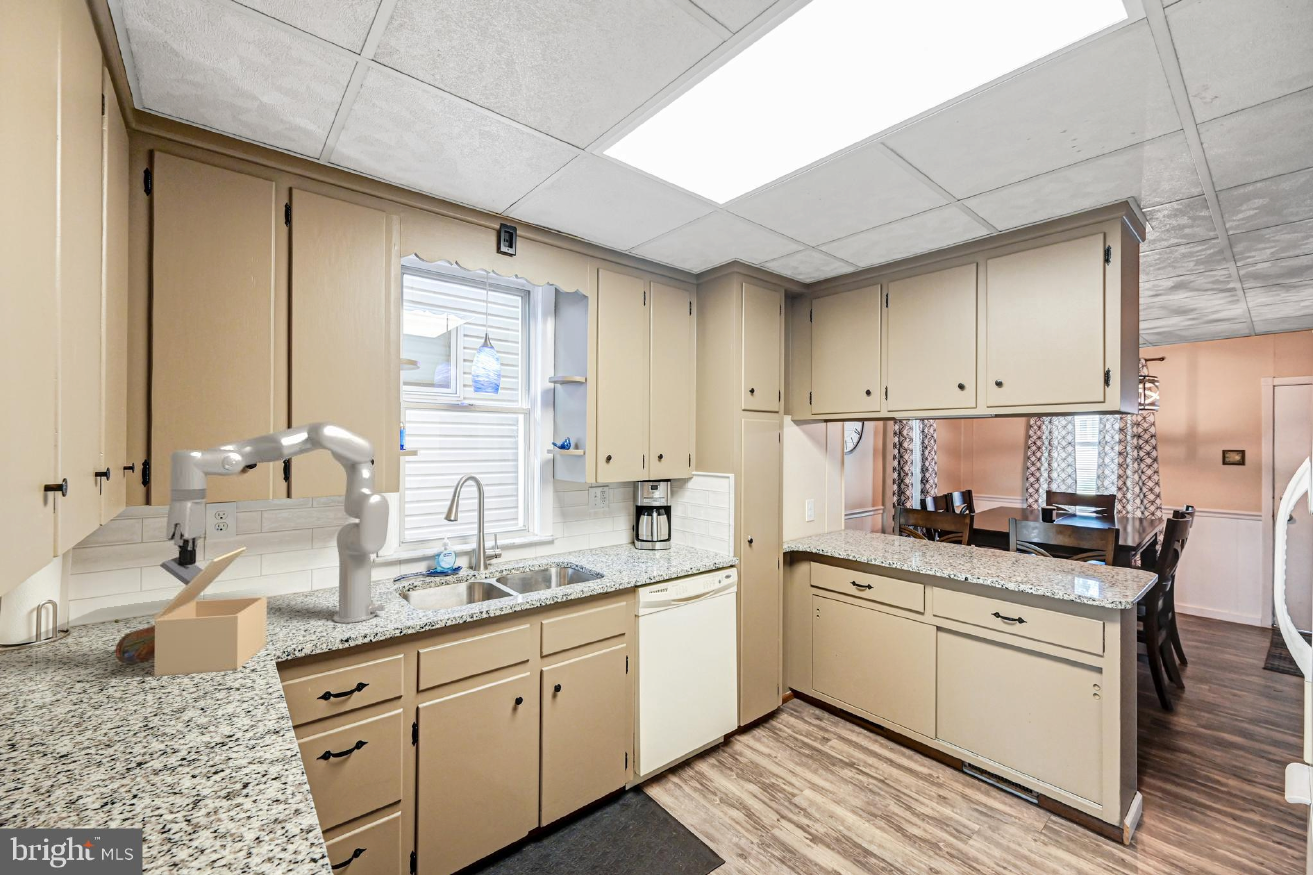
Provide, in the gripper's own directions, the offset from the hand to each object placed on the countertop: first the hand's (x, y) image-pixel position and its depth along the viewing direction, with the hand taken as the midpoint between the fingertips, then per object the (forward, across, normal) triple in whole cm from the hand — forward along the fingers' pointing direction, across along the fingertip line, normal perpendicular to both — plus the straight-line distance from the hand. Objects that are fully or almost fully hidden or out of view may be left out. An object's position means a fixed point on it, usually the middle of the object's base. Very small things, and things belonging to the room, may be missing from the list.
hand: (187, 564), depth 151 cm
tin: (+26, -6, -12) cm, 29 cm away
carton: (+26, 0, +6) cm, 27 cm away
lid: (+5, 0, +4) cm, 6 cm away
